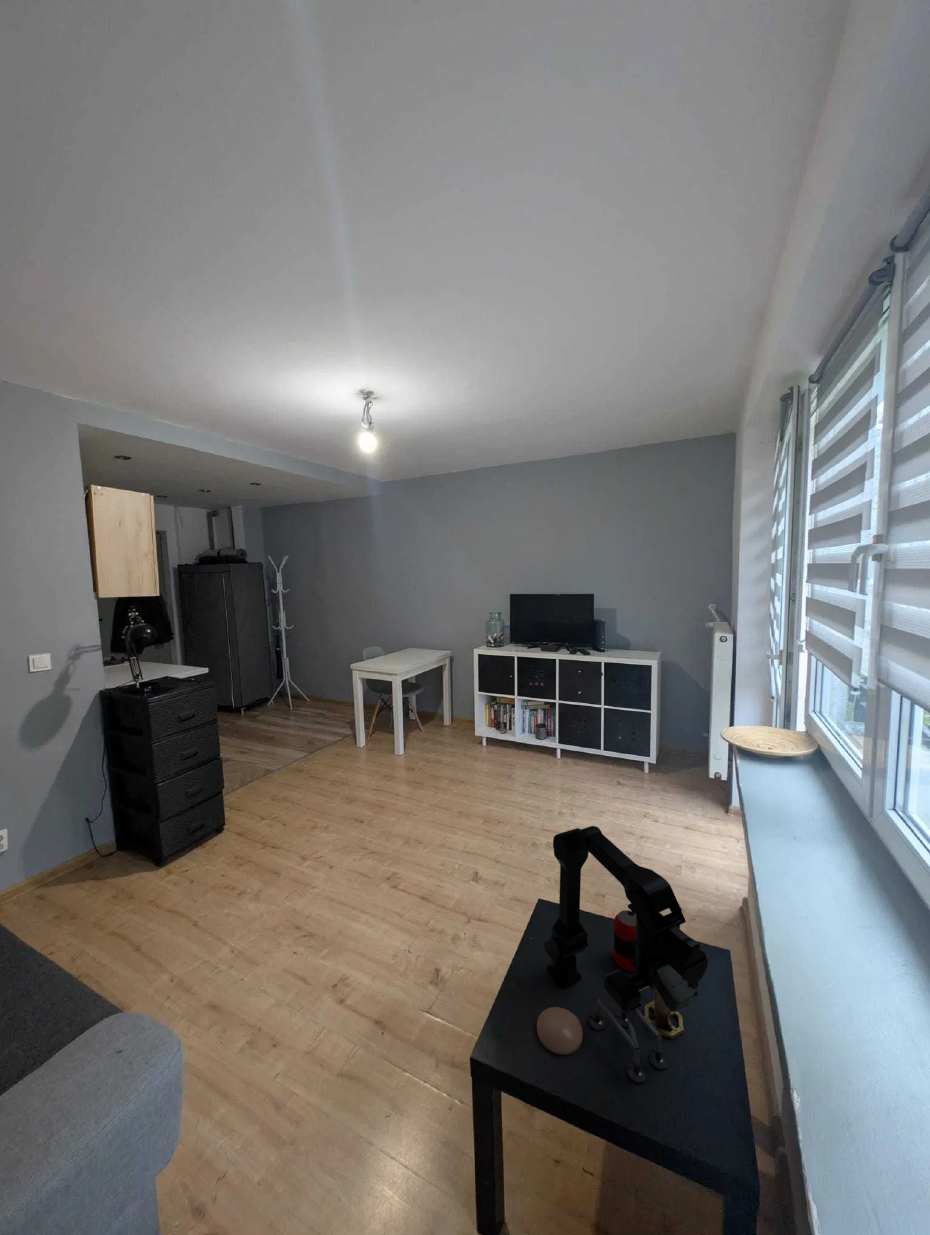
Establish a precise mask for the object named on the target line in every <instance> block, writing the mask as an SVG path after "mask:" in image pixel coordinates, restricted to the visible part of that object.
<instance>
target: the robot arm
mask: <svg viewBox="0 0 930 1235" xmlns="http://www.w3.org/2000/svg"><path fill="white" fill-rule="evenodd" d="M552 848H553V856H554V857H555V859H556V860H557V862H558V863H559V866H560V867H559V900H558V901H559V903H558V905H559V907H558V918H557V919H556V921H555V923H554V924H553V925H552V928H551V934H550V939H549V938H548V939H547V940H545V941H543V947H544V951H545V953H546V954H547V955H548V957H550V959H551V964H549V965H547V966H546V970H547V971H548V973H549V974H550V976H551V977H552V978H553V980H554V981H555V982H556V983H557V985H558V987H559V988H565V987H566V986H569V985H572V984H573V983H575V982H578V981H580V980H581V979H582V975H581V974H580V972H578V966H577V957H576V955H578V954H580V953H583V952H584V951H585V950H586V948H587V947H589V945H588V936H589V933H588V932H587V931H586V929H585V928H584V927H583V925H582V923H581V922H580V917H581V916H580V914H581V913H580V908H581V881H582V878H581V876H582V868H583V866H584V864H585V863H586V861H587V860H588V858H589V853H590V854H591V856H593V858H595V859H596V861H598V862H599V863H600V865H602V866H603V867H604V868H605V869H606V870H607V871H608V873H610V874H611V875H612V876H613V877H614V878H615V880H617V881H618V882H619V883H620V884H621V886H623V889H624V893H625V897H626V899H627V900H628V901H629V902H630V903H629V904H627V908H628V909H629V911H632V912H633V913H635V915H636V939H633V940H631V946H632V947H633V948H634V949H635V950H636V958H633V959H631V965H632V966H633V967H634V968H635V969H636V971H635V973H636V974H635V975H633V976H631V977H629V976H628V975H627V974H626V973H625V971H623V969H617V970H615V971H613V972H611V973H609V974H606V975H604V979H603V983H604V984H603V985H604V986H603V989H604V990H605V991H606V992H607V993H608V994H609V996H610V997H611V999H613V1001H614V1002H615V1003H616V1004H617V1005H618V1007H619V1008H620V1010H621V1009H622V1010H624V1011H625V1013H626V1015H627V1018H628V1020H629V1022H630V1024H631V1025H632V1026H634V1027H635V1026H636V1021H637V1016H636V1009H638V1008H641V1007H642V1006H643V1005H642V1004H641V1001H642V995H641V991H643V990H645V989H647V988H650V989H651V990H654V988H655V986H656V989H657V991H658V992H659V994H660V995H661V997H662V998H663V1000H664V1003H665V1005H666V1006H667V1007H668V1008H669V1009H670V1010H671V1011H672V1012H677V1011H678V1012H679V1010H681V1009H684V1008H685V1007H688V1006H689V1005H690V1003H691V1001H692V999H693V998H695V997H697V996H699V992H698V989H699V981H700V980H702V978H703V977H704V976H705V974H706V971H707V968H708V965H709V963H708V962H709V959H708V957H707V954H706V953H705V951H704V950H702V949H701V948H700V947H701V944H700V943H699V942H697V940H695V939H694V938H692V937H690V936H689V935H688V934H687V933H686V932H684V931H683V930H681V925H683V924H685V923H686V922H687V921H686V919H685V916H684V913H683V909H682V908H681V905H680V903H679V901H678V899H677V897H676V895H675V893H674V891H673V888H672V886H671V885H670V883H669V881H667V880H666V879H665V878H664V877H663V876H662V875H660V874H659V873H657V872H656V871H654V870H653V869H650V868H647V867H644V866H641V865H638V864H637V863H635V862H634V861H633V860H632V859H631V858H630V857H629V856H628V855H627V854H625V853H624V852H623V851H622V850H621V849H620V848H619V847H618V846H617V845H615V844H614V843H613V842H612V841H611V840H610V839H608V838H607V837H606V836H605V835H604V834H603V833H602V830H601V829H600V827H598V826H596V825H591V826H590V825H589V826H587V827H584V828H578V827H576V828H573V829H570V830H567V831H563V832H559V833H557V834H555V835H554V836H553V840H552ZM665 910H666V911H667V910H670V912H669V913H667V914H665V915H664V914H662V912H663V911H665Z"/></svg>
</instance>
